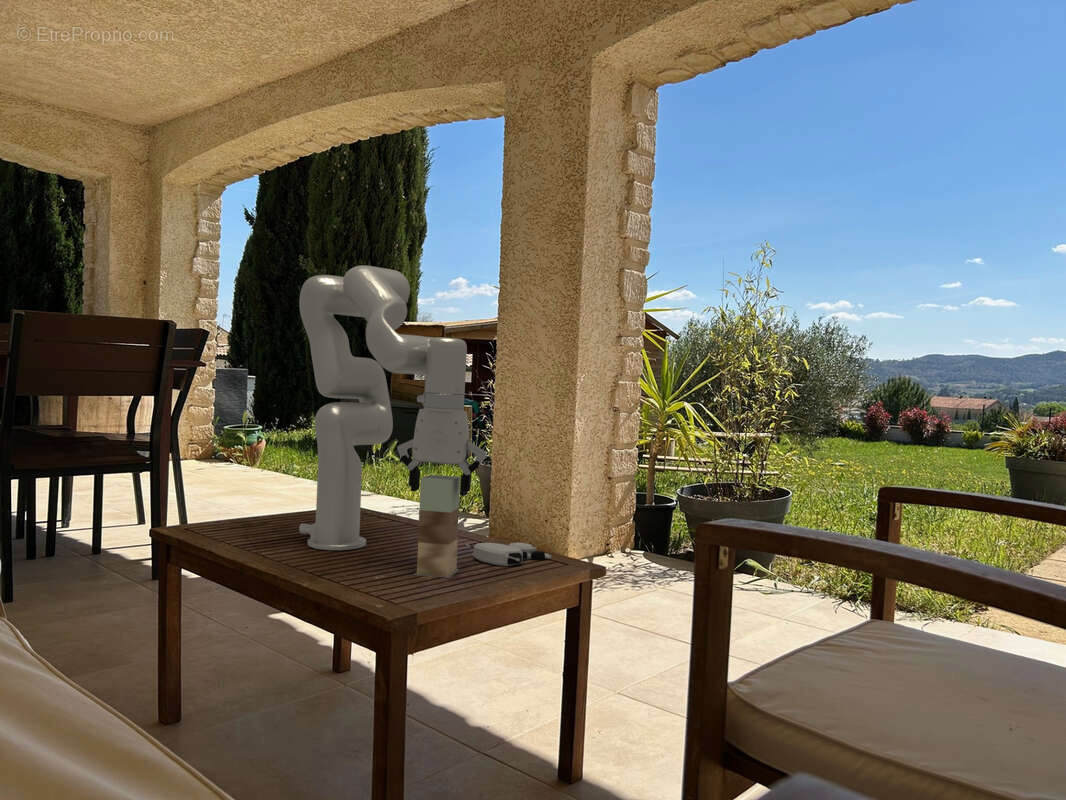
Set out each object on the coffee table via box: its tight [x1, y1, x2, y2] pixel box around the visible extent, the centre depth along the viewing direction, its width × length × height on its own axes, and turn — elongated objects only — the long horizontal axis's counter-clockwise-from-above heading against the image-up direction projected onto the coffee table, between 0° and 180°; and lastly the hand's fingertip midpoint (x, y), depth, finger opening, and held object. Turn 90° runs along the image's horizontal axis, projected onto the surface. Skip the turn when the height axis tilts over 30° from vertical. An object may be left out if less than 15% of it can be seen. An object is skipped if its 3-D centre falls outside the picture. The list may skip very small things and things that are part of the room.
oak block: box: [416, 538, 459, 578], centre depth 151 cm, size 6×6×6 cm
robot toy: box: [465, 542, 552, 567], centre depth 165 cm, size 12×4×15 cm
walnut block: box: [417, 507, 460, 545], centre depth 151 cm, size 6×6×6 cm
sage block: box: [419, 474, 461, 513], centre depth 151 cm, size 6×6×6 cm
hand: (439, 492), depth 151 cm, fingers open, 9 cm apart
